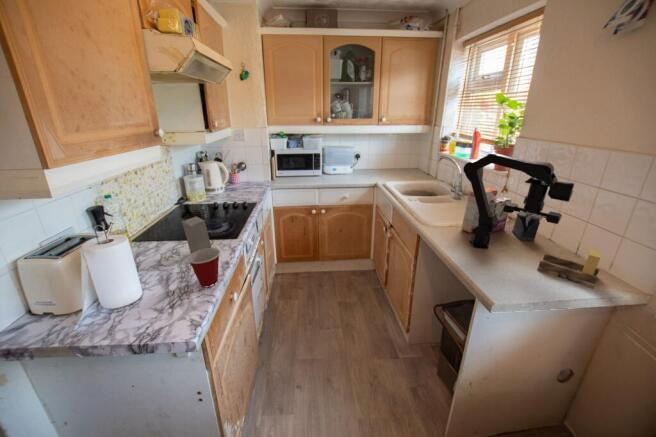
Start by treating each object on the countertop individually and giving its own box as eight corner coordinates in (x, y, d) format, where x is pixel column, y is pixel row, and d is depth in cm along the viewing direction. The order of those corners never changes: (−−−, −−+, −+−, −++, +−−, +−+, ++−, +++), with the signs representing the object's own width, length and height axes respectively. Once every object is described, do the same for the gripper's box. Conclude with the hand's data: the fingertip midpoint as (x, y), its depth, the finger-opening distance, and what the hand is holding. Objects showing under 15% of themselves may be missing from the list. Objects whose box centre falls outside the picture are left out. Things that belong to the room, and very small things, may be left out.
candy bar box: (495, 226, 154) (503, 196, 147) (504, 229, 149) (512, 199, 143) (481, 229, 149) (487, 199, 143) (489, 233, 145) (497, 202, 139)
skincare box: (213, 254, 125) (207, 220, 119) (196, 260, 120) (189, 225, 114) (204, 247, 130) (198, 215, 124) (188, 253, 125) (181, 219, 119)
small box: (535, 242, 136) (541, 221, 132) (519, 241, 138) (525, 220, 134) (525, 232, 146) (531, 213, 142) (511, 231, 147) (516, 212, 143)
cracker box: (470, 233, 144) (479, 193, 136) (460, 229, 149) (468, 190, 141) (489, 228, 150) (498, 189, 142) (479, 224, 155) (487, 186, 147)
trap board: (537, 269, 114) (539, 261, 113) (543, 259, 122) (545, 252, 120) (593, 288, 103) (596, 279, 102) (596, 276, 111) (599, 267, 109)
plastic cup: (211, 271, 112) (206, 244, 108) (230, 279, 107) (226, 251, 103) (186, 286, 104) (179, 256, 99) (206, 295, 99) (200, 265, 94)
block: (580, 276, 107) (589, 254, 104) (582, 270, 111) (591, 249, 108) (590, 280, 105) (600, 257, 102) (592, 273, 109) (601, 251, 106)
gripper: (569, 196, 112) (557, 233, 118) (515, 186, 124) (506, 220, 130) (564, 203, 105) (551, 242, 111) (507, 192, 117) (498, 227, 123)
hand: (525, 232), depth 119 cm, fingers closed
